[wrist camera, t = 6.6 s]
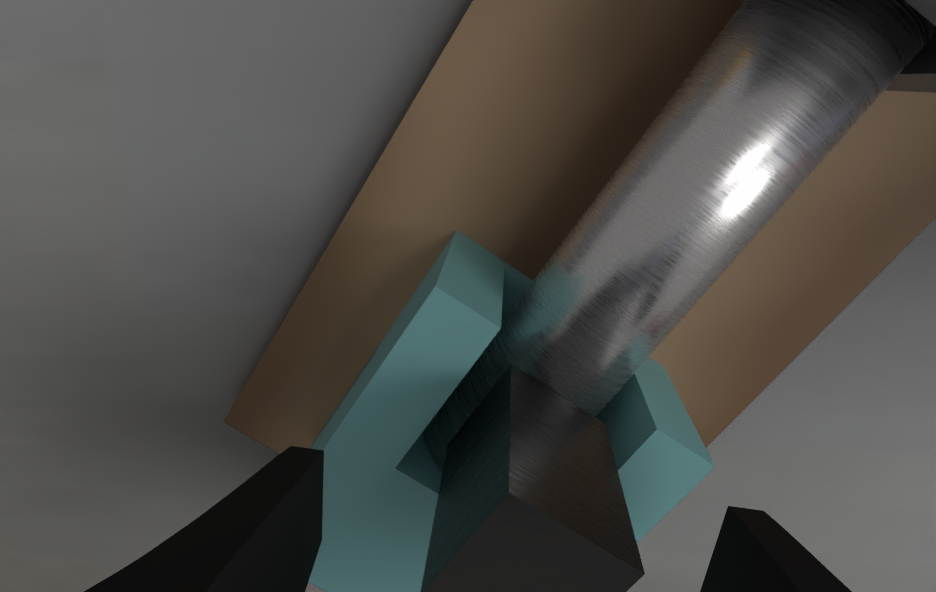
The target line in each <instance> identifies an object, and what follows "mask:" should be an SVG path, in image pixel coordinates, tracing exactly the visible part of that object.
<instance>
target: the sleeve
mask: <svg viewBox="0 0 936 592" xmlns="http://www.w3.org/2000/svg"><path fill="white" fill-rule="evenodd" d="M904 1H906V2H907V3H908V4H909V5H910V6H912V7H913V8H914V9H915V10H916V11H918V12H919V13H920V14H921V15H923V16H924V17H925V18H926V19H927V20H929V21H930V22H931V23H932V24H933V25H935V26H936V0H904ZM885 91H907V92H934V93H936V33H935V34H934V35H933V36H932V38H931V39H930V40H929V41H928V42H927V43H926V44H925V45H924V47H923V48H922V49H921V50H920V51H919V52H918V53H917V54H916V56H915V57H914V58H913V59H912V60H911V61H910V62H909V64H908V65H907V66H906V67H905V68H904V69H903V70H902V71H901V73H900V74H899V75H898V76H897V77H896V78H895V79H894V80H893V82H892V83H891V84H890V85H889V86H888V87H887V88H886V90H885Z"/></svg>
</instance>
